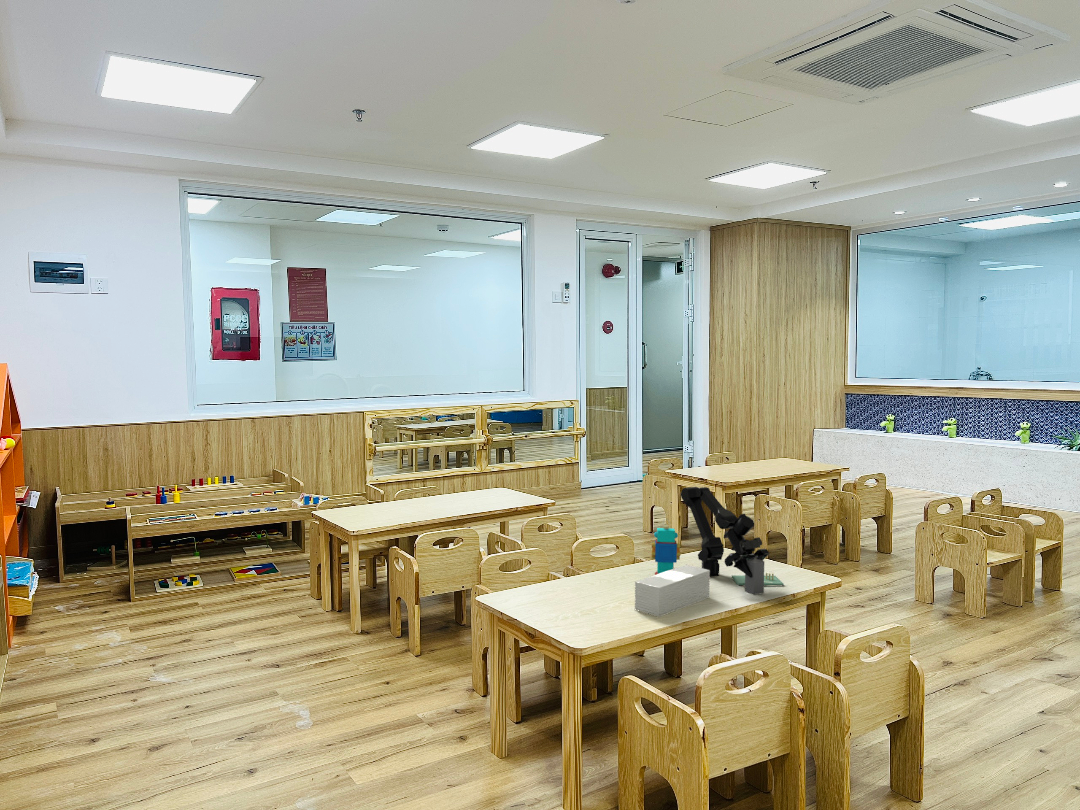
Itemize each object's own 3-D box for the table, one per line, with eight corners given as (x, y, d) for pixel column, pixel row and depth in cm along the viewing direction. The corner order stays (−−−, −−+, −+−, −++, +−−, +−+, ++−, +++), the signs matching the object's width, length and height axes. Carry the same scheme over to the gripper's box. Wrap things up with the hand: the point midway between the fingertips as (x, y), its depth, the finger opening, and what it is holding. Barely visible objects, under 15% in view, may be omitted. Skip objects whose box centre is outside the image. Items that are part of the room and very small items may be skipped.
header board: (738, 585, 314) (738, 577, 314) (731, 577, 325) (731, 569, 325) (783, 586, 314) (783, 577, 314) (775, 578, 325) (775, 569, 325)
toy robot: (678, 577, 324) (680, 518, 322) (679, 582, 318) (681, 521, 316) (650, 576, 325) (651, 517, 324) (651, 581, 319) (652, 520, 318)
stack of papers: (658, 617, 277) (659, 587, 276) (634, 610, 284) (635, 581, 283) (709, 598, 299) (709, 570, 298) (685, 591, 307) (686, 564, 306)
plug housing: (744, 591, 307) (745, 559, 306) (754, 589, 309) (755, 558, 308) (753, 594, 303) (754, 562, 302) (763, 592, 305) (764, 561, 304)
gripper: (730, 533, 304) (749, 568, 295) (766, 528, 312) (786, 562, 303) (716, 548, 311) (734, 583, 302) (752, 543, 320) (771, 577, 311)
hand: (757, 576), depth 304 cm, fingers closed on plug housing, 5 cm apart
